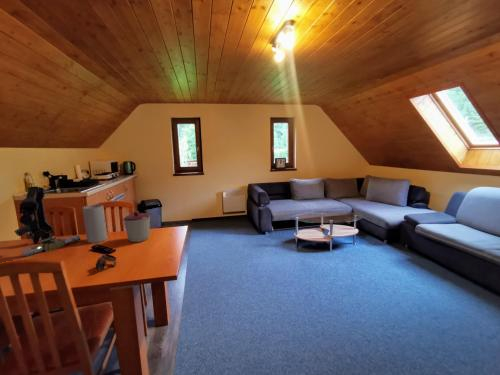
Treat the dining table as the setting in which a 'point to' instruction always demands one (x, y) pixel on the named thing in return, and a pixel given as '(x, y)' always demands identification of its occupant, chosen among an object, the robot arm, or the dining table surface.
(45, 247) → the valve
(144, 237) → the canister
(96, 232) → the cylinder vase
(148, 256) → the dining table surface
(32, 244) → the lever
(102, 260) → the dark curved loop
